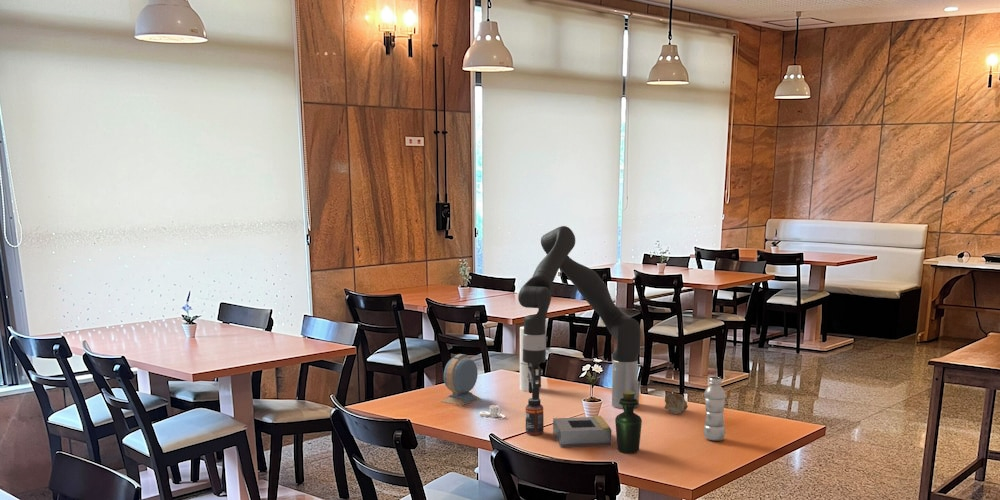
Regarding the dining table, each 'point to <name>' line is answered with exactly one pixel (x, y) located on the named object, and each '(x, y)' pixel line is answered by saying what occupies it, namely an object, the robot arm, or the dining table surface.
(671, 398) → the grey brown rock
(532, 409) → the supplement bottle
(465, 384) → the alarm clock
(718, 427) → the plastic bottle
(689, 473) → the dining table surface
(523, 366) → the cylindrical container
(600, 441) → the jig
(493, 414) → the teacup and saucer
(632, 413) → the potion bottle
